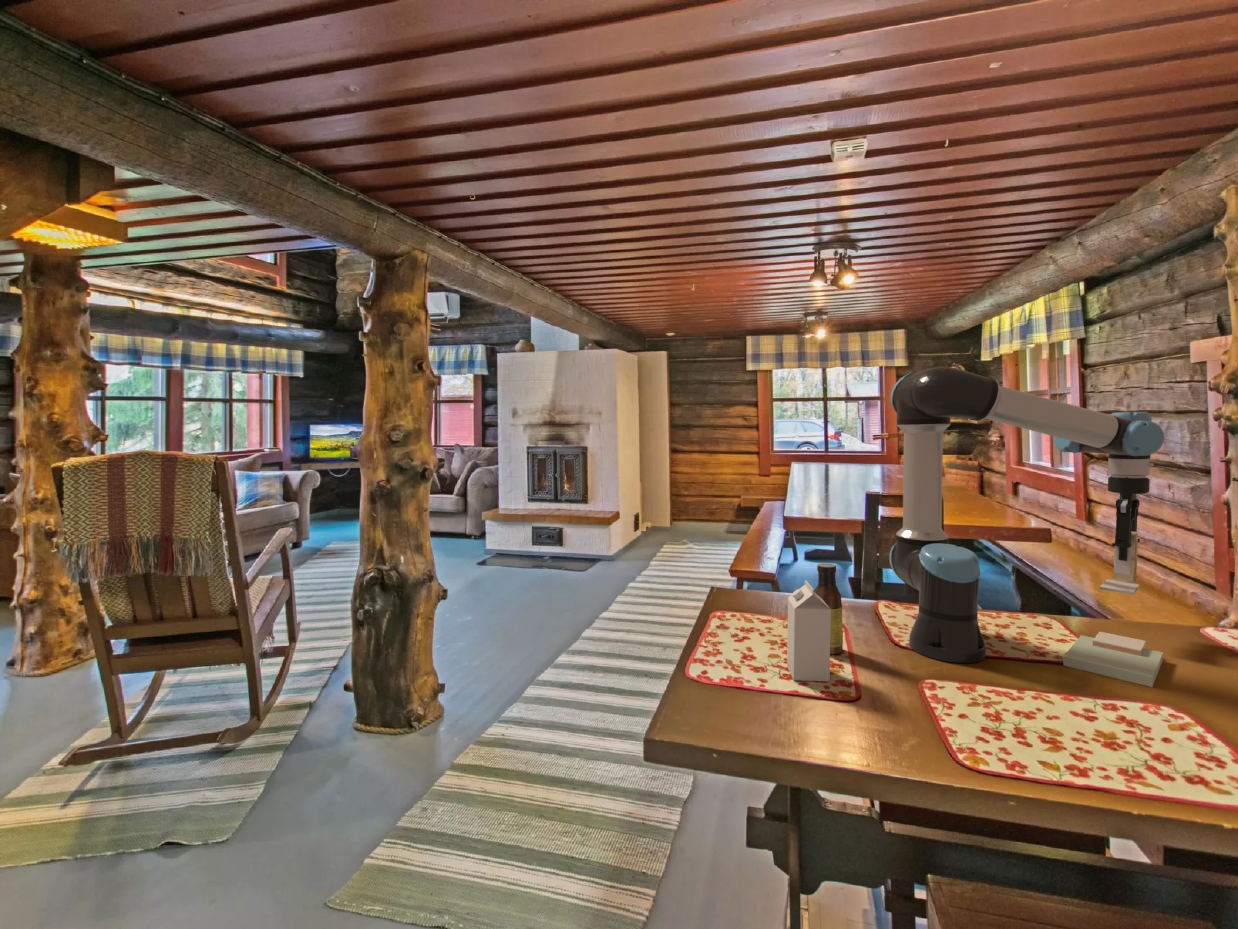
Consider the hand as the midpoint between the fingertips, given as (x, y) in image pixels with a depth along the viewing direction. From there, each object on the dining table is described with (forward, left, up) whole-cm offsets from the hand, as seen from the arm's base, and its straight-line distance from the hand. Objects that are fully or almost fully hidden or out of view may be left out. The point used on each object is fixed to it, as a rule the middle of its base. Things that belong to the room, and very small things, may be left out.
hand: (1125, 570), depth 140 cm
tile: (-11, -13, -14) cm, 22 cm away
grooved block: (-16, -18, -16) cm, 29 cm away
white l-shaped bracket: (-3, -3, -3) cm, 5 cm away
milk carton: (-83, -26, -16) cm, 88 cm away
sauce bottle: (-75, -13, -16) cm, 78 cm away
